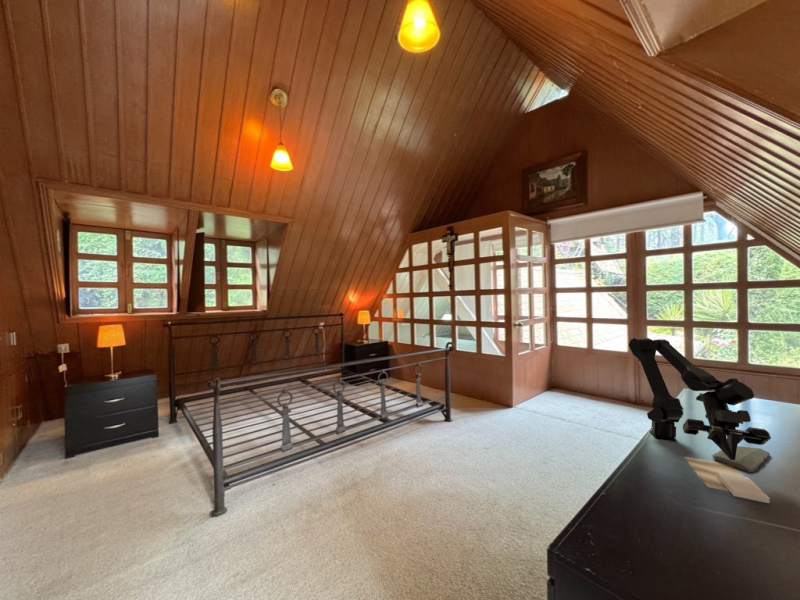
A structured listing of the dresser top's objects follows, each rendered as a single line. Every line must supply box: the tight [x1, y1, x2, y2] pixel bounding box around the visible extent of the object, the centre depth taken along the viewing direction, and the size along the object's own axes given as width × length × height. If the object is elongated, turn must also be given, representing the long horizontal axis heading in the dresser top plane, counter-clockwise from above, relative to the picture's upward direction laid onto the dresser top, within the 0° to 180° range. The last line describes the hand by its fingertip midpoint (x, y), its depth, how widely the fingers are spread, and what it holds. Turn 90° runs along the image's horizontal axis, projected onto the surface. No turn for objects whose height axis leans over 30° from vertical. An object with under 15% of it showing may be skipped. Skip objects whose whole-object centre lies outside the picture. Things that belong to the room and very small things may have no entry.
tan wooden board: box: [683, 456, 745, 492], centre depth 97 cm, size 18×12×1 cm
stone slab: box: [711, 445, 771, 473], centre depth 108 cm, size 22×3×10 cm
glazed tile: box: [716, 472, 771, 504], centre depth 90 cm, size 2×7×10 cm
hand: (732, 459), depth 94 cm, fingers closed
